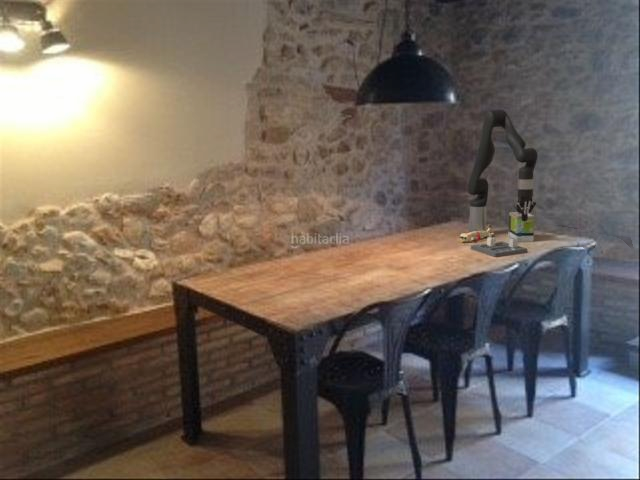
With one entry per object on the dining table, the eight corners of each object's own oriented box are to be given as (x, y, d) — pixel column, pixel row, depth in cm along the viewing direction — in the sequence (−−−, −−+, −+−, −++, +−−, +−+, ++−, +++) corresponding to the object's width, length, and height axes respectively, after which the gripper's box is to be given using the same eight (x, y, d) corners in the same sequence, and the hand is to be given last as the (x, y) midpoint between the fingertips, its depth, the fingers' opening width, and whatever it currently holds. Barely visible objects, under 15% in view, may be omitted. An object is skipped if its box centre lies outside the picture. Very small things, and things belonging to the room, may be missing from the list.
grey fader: (508, 246, 301) (509, 237, 300) (513, 245, 302) (513, 237, 301) (512, 247, 298) (513, 238, 297) (517, 246, 299) (517, 238, 298)
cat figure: (483, 237, 341) (453, 240, 327) (484, 222, 339) (455, 225, 326) (497, 240, 333) (467, 243, 319) (498, 225, 331) (468, 227, 317)
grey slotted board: (470, 249, 308) (470, 244, 307) (501, 244, 315) (501, 240, 314) (495, 257, 289) (495, 252, 289) (527, 252, 296) (527, 247, 296)
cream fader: (487, 245, 305) (487, 236, 304) (491, 244, 306) (491, 236, 305) (490, 246, 303) (490, 237, 302) (495, 245, 304) (495, 237, 303)
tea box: (534, 241, 319) (535, 215, 316) (515, 242, 319) (516, 216, 316) (525, 236, 334) (526, 210, 330) (507, 236, 334) (508, 211, 331)
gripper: (530, 186, 302) (529, 218, 305) (510, 188, 297) (509, 221, 301) (541, 187, 295) (539, 220, 298) (520, 189, 290) (518, 223, 294)
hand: (524, 221), depth 299 cm, fingers closed
